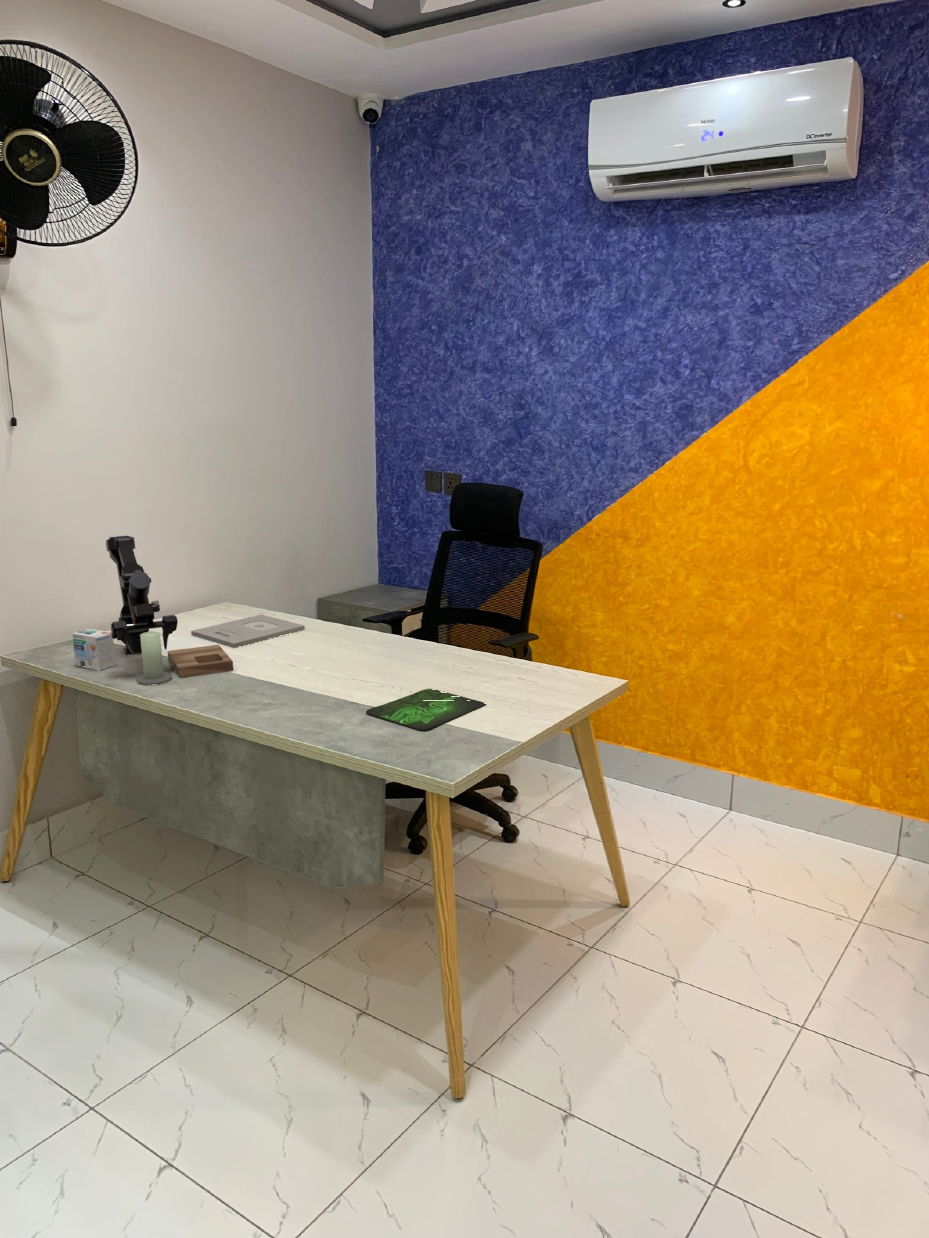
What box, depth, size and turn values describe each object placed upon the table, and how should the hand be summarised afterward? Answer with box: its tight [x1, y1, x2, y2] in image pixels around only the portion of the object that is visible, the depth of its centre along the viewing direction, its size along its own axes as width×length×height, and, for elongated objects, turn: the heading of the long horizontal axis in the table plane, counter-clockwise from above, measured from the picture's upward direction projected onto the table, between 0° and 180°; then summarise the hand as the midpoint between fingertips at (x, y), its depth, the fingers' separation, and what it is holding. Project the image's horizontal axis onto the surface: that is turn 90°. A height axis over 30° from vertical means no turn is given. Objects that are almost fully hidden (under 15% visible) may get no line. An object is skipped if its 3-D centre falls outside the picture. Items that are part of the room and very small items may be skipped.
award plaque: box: [190, 614, 306, 649], centre depth 321 cm, size 25×30×2 cm
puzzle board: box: [166, 644, 234, 679], centre depth 284 cm, size 20×16×3 cm
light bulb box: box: [72, 628, 116, 670], centre depth 282 cm, size 11×7×11 cm, turn 62°
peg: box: [140, 631, 165, 680], centre depth 268 cm, size 6×6×13 cm
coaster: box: [135, 671, 173, 686], centre depth 270 cm, size 10×10×1 cm
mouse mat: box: [365, 688, 487, 732], centre depth 246 cm, size 27×22×1 cm
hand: (149, 651), depth 271 cm, fingers open, 9 cm apart
